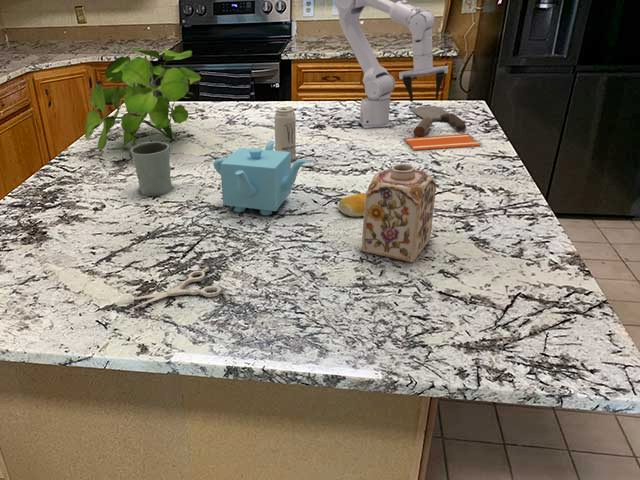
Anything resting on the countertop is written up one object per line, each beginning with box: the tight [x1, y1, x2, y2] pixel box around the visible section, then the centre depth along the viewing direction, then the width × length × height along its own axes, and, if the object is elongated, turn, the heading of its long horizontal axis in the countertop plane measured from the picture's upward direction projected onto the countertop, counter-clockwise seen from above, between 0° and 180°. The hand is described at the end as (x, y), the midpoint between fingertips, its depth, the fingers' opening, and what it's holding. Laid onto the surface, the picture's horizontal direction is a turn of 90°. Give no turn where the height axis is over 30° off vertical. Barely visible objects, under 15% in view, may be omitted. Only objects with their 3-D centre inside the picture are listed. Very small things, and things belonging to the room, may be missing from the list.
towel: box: [403, 133, 481, 152], centre depth 187 cm, size 20×11×1 cm, turn 93°
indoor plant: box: [84, 48, 202, 151], centre depth 196 cm, size 44×42×30 cm
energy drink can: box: [274, 106, 297, 162], centre depth 178 cm, size 6×6×15 cm
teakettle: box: [213, 140, 310, 216], centre depth 150 cm, size 19×19×15 cm
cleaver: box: [411, 105, 467, 132], centre depth 207 cm, size 29×10×2 cm, turn 9°
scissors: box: [121, 266, 222, 311], centre depth 119 cm, size 11×1×20 cm
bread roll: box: [338, 192, 366, 218], centre depth 148 cm, size 8×9×4 cm
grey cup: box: [130, 141, 172, 197], centre depth 164 cm, size 10×10×12 cm
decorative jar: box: [361, 163, 437, 263], centre depth 127 cm, size 12×12×18 cm
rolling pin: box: [413, 117, 433, 138], centre depth 196 cm, size 11×4×4 cm
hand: (424, 99), depth 192 cm, fingers open, 7 cm apart
